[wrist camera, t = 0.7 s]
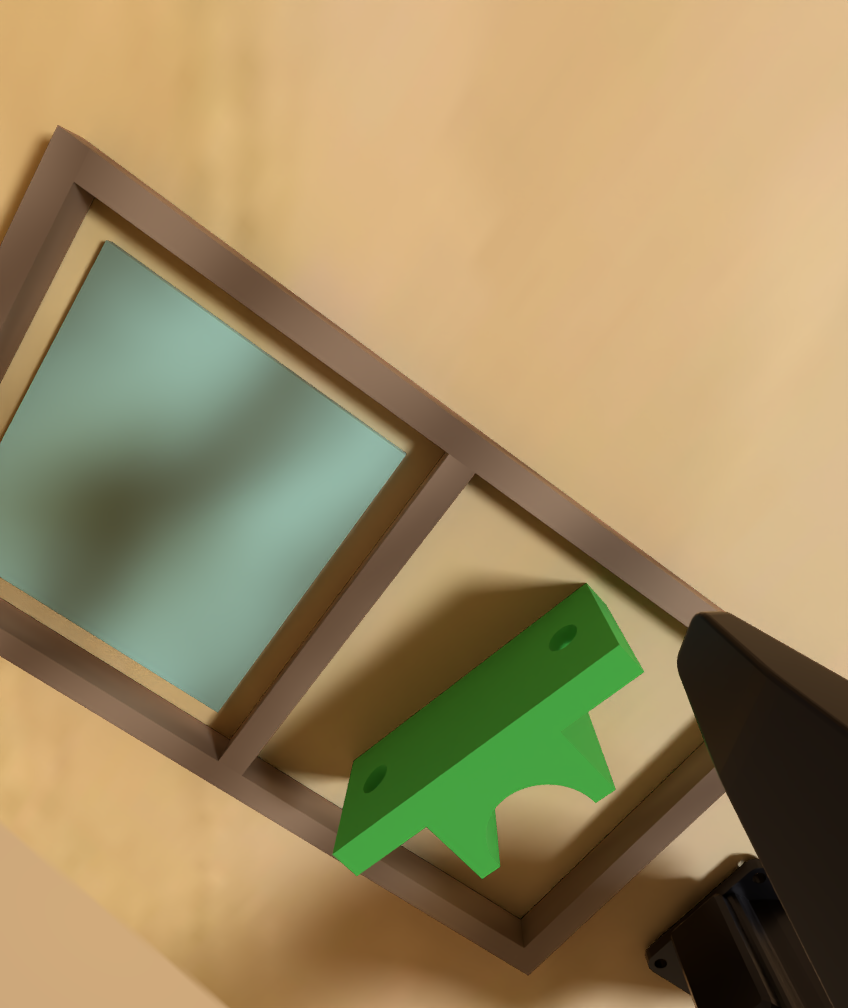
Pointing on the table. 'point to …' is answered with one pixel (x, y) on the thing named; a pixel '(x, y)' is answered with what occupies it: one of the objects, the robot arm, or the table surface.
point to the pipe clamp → (492, 740)
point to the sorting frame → (246, 523)
